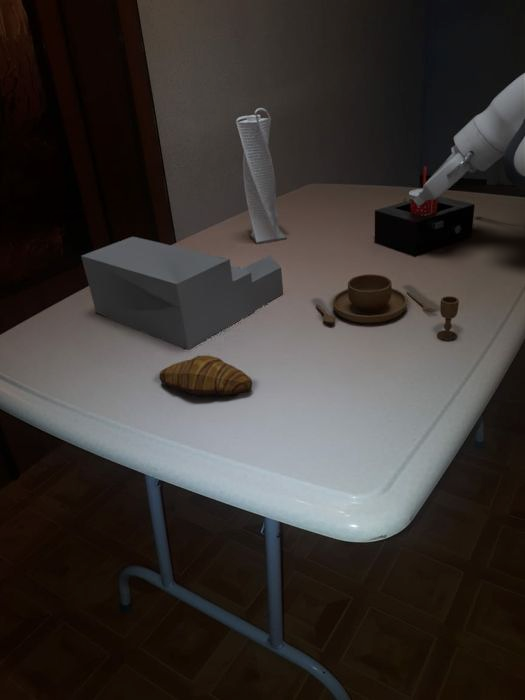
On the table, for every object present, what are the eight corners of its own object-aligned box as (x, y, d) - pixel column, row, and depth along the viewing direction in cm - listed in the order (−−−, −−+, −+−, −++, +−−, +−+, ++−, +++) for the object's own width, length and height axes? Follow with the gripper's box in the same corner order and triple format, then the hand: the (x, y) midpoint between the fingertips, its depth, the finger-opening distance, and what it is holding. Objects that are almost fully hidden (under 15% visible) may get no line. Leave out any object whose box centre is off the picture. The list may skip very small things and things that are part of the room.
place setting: (405, 287, 98) (406, 255, 95) (464, 338, 81) (467, 301, 78) (309, 304, 95) (307, 272, 92) (349, 360, 78) (348, 323, 75)
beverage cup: (427, 228, 120) (430, 161, 113) (444, 236, 115) (447, 166, 108) (402, 234, 119) (403, 166, 112) (417, 241, 114) (419, 171, 107)
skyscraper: (288, 240, 125) (278, 106, 111) (253, 246, 124) (239, 111, 110) (278, 230, 132) (267, 103, 119) (245, 236, 131) (230, 108, 117)
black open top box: (428, 225, 126) (430, 194, 122) (476, 238, 115) (479, 205, 112) (374, 242, 119) (374, 210, 116) (419, 258, 109) (421, 223, 105)
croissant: (150, 397, 75) (142, 365, 72) (172, 370, 80) (166, 340, 78) (243, 409, 70) (239, 375, 68) (260, 380, 76) (257, 348, 73)
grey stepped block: (284, 294, 100) (279, 235, 94) (188, 349, 85) (176, 283, 80) (191, 269, 115) (182, 218, 110) (96, 313, 101) (81, 255, 95)
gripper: (479, 172, 97) (419, 224, 106) (495, 148, 112) (442, 195, 121) (454, 145, 96) (396, 199, 105) (474, 125, 112) (422, 174, 121)
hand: (421, 197), depth 113 cm, fingers closed on beverage cup, 6 cm apart
